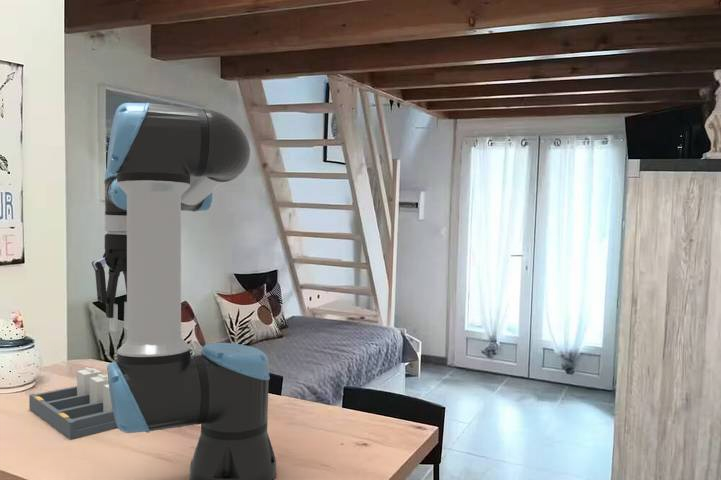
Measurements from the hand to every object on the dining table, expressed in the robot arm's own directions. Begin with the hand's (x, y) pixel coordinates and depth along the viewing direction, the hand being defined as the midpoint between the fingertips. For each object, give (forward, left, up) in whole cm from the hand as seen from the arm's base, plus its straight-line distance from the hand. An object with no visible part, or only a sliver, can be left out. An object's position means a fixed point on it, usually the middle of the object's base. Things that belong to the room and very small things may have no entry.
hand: (120, 329), depth 148 cm
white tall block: (-7, +8, -15) cm, 18 cm away
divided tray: (-7, +12, -17) cm, 21 cm away
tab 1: (-14, +8, -15) cm, 22 cm away
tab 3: (0, +8, -15) cm, 17 cm away
